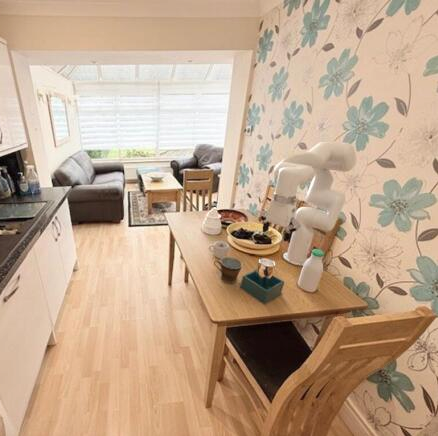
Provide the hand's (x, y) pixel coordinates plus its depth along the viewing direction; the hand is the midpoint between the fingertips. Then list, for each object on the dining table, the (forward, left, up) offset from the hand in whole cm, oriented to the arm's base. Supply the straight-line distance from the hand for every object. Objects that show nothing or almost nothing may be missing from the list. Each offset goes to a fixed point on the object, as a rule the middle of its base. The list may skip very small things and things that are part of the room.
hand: (275, 235), depth 103 cm
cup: (-2, -31, -28) cm, 42 cm away
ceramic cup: (+10, -14, -28) cm, 33 cm away
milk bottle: (-18, +11, -28) cm, 35 cm away
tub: (+3, +1, -28) cm, 28 cm away
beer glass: (+3, +1, -27) cm, 28 cm away
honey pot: (-23, -57, -28) cm, 68 cm away
